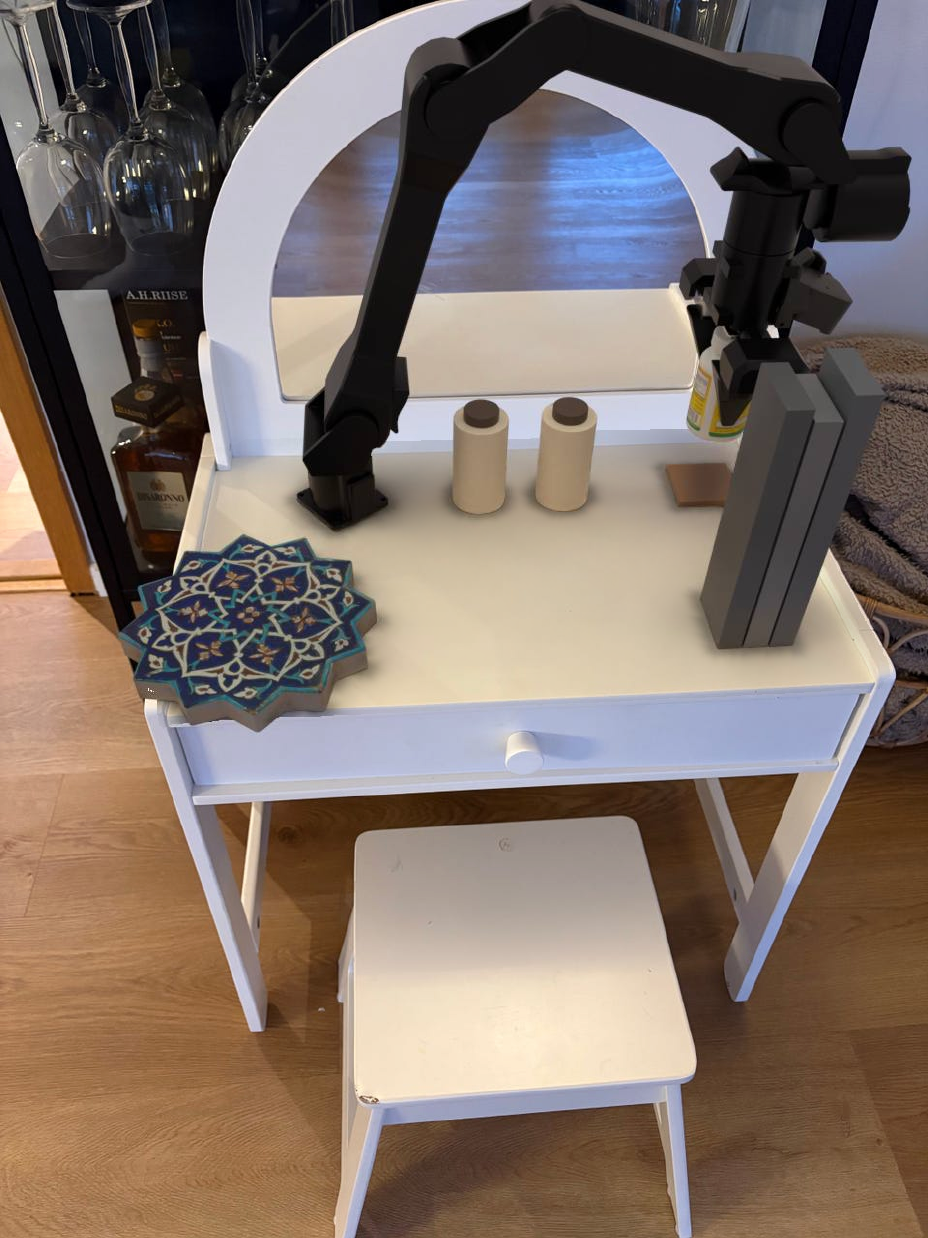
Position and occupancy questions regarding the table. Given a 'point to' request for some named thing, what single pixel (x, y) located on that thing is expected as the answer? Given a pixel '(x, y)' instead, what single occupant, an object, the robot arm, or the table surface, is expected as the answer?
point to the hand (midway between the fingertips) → (719, 407)
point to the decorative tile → (249, 632)
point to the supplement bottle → (711, 398)
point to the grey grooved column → (787, 496)
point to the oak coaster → (699, 483)
